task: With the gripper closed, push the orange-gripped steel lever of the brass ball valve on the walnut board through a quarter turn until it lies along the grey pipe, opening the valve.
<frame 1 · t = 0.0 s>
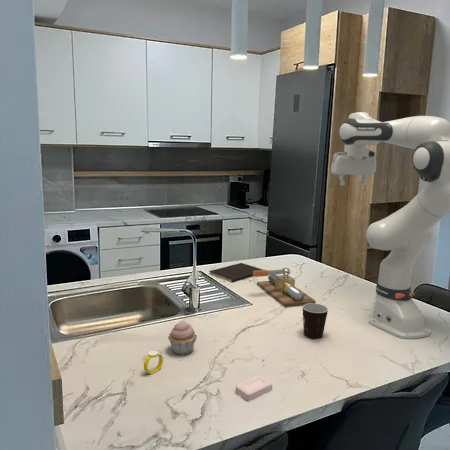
hand: (352, 185, 184), 48 cm above the worktop, tool pointing down, fingers open, 8 cm apart
mount board: (284, 294, 189), on the worktop
cupcake: (182, 350, 137), on the worktop
soap bar: (253, 392, 117), on the worktop
hardcover book: (236, 275, 216), on the worktop
valve body: (284, 294, 189), resting on mount board
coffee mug: (311, 337, 149), on the worktop
valve lever: (271, 272, 185), point 10 cm above the worktop, hinge at 0.0°
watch: (153, 372, 124), on the worktop
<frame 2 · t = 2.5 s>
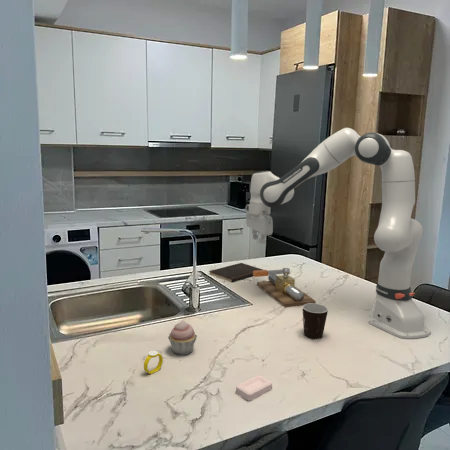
hand: (258, 241, 186), 23 cm above the worktop, tool pointing down, fingers open, 6 cm apart
nothing on the worktop moved.
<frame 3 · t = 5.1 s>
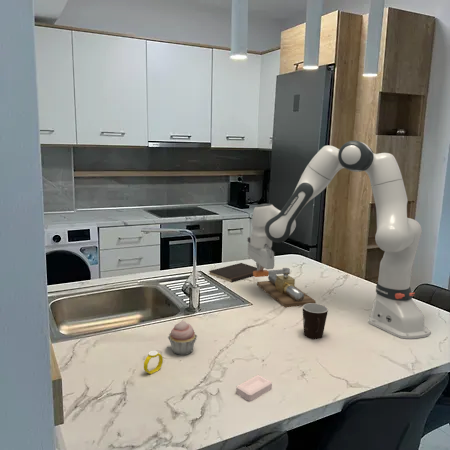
hand: (259, 273, 186), 10 cm above the worktop, tool pointing down, fingers closed
valve lever: (272, 272, 185), point 10 cm above the worktop, hinge at 0.9°, touching gripper
everything else where it was.
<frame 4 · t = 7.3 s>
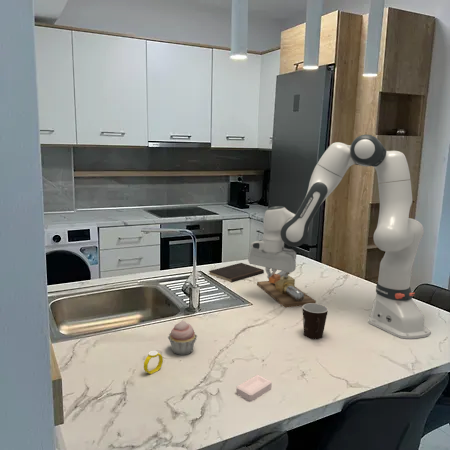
hand: (270, 278, 179), 10 cm above the worktop, tool pointing down, fingers closed
valve lever: (279, 275, 182), point 10 cm above the worktop, hinge at 40.3°, touching gripper
everything else where it was.
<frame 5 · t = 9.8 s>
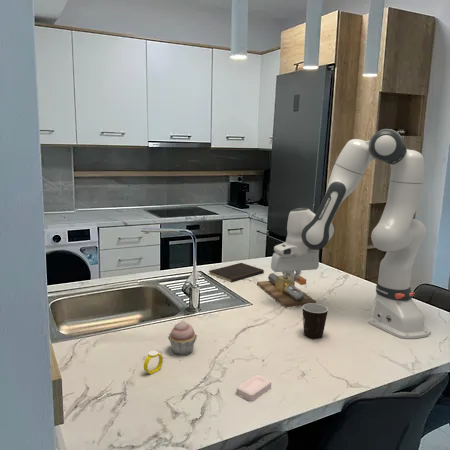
hand: (293, 280, 176), 10 cm above the worktop, tool pointing down, fingers closed
valve lever: (293, 276, 181), point 10 cm above the worktop, hinge at 90.4°, touching gripper
everything else where it was.
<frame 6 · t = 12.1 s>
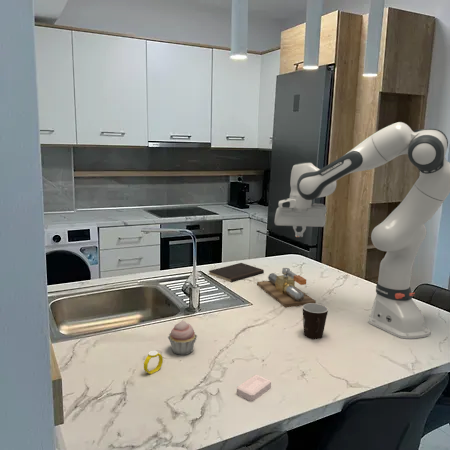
hand: (298, 236, 176), 28 cm above the worktop, tool pointing down, fingers closed
valve lever: (293, 276, 181), point 10 cm above the worktop, hinge at 90.5°
everything else where it was.
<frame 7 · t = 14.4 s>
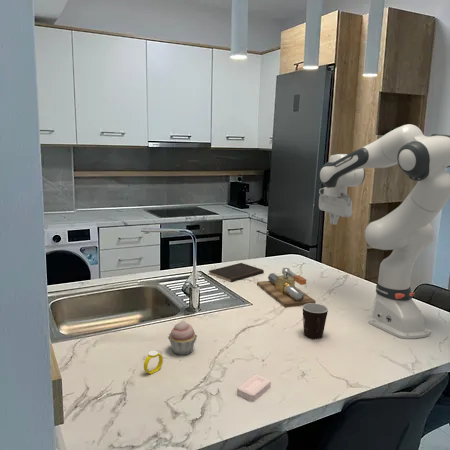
hand: (333, 223, 187), 31 cm above the worktop, tool pointing down, fingers closed
nothing on the worktop moved.
at the end: valve lever at +90° (first picture: +0°) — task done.
